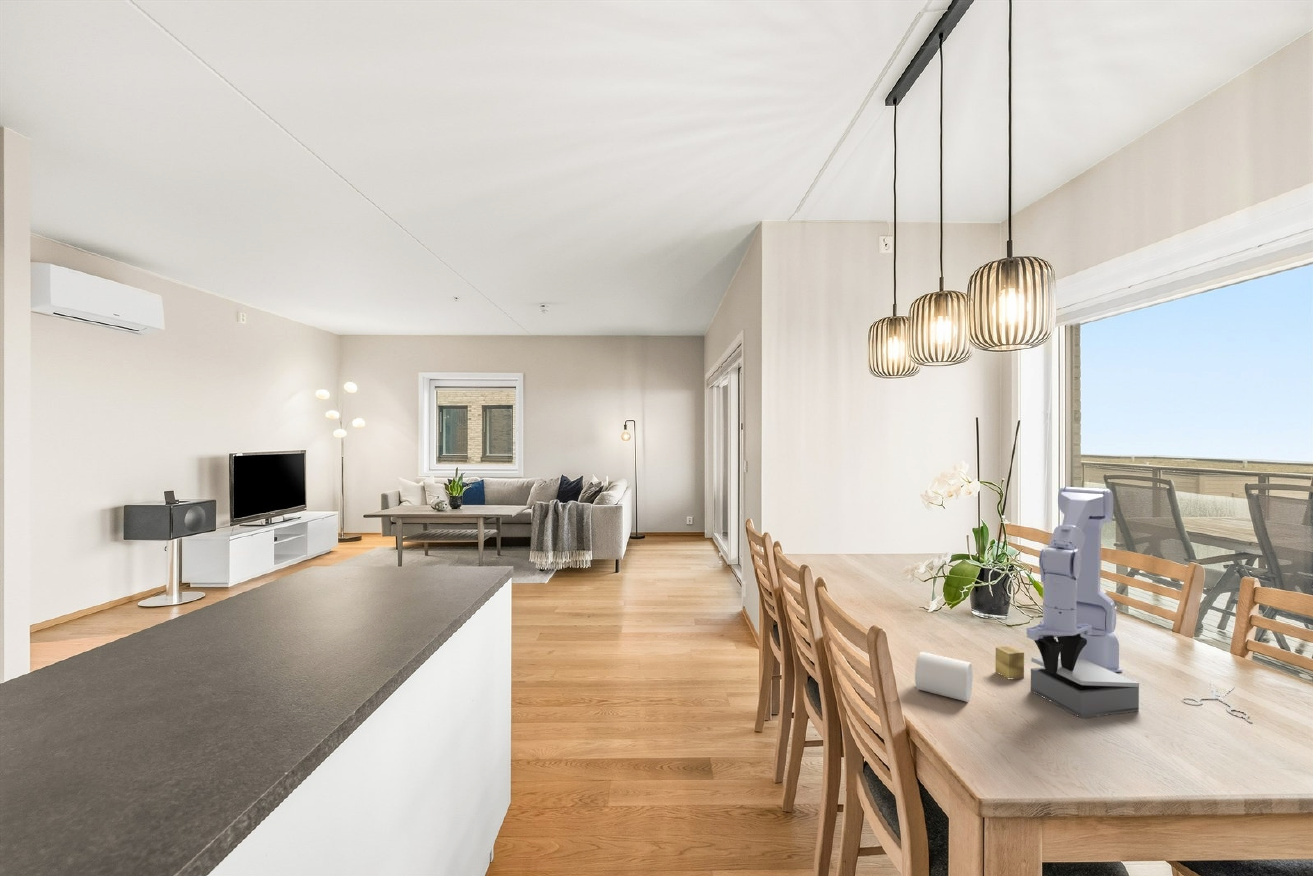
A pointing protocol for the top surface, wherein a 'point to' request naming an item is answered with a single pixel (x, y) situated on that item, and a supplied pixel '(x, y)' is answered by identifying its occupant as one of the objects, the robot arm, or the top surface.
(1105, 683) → the lid
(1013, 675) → the block
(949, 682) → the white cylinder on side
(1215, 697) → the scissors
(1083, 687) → the box
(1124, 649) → the top surface
